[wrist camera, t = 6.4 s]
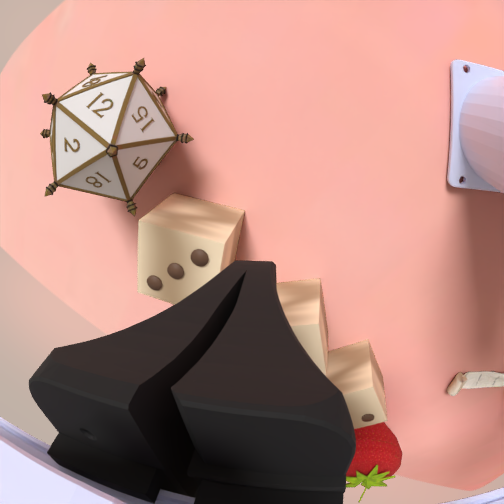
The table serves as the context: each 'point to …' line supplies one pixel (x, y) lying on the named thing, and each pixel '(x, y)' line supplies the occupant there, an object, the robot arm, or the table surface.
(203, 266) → the pip block
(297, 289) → the plain block
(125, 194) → the game die
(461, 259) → the table surface
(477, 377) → the toy measuring tape
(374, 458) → the strawberry
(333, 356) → the pip block
